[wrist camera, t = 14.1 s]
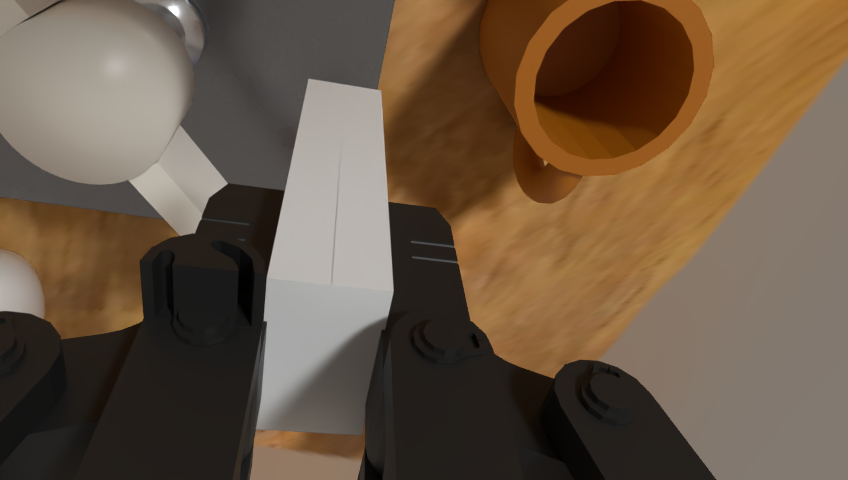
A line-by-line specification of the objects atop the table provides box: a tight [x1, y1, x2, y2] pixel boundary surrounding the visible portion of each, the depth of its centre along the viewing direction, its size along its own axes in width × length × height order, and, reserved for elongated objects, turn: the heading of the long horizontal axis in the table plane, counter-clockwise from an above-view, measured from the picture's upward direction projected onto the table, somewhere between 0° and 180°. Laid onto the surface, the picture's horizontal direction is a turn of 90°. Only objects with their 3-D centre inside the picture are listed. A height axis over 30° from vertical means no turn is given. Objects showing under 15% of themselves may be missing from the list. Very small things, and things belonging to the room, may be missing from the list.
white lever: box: [0, 0, 228, 236], centre depth 24 cm, size 18×6×4 cm, turn 27°
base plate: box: [0, 0, 395, 220], centre depth 26 cm, size 22×22×13 cm
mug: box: [479, 0, 714, 203], centre depth 31 cm, size 9×12×9 cm
